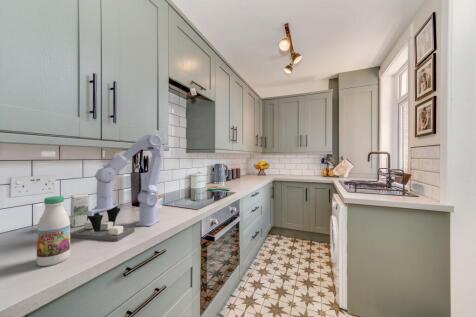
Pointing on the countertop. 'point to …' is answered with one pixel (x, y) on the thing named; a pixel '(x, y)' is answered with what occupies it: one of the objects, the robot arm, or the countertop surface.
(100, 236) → the switch panel
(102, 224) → the switch
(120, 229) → the switch
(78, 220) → the syrup box
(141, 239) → the countertop surface
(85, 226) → the switch
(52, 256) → the milk bottle
